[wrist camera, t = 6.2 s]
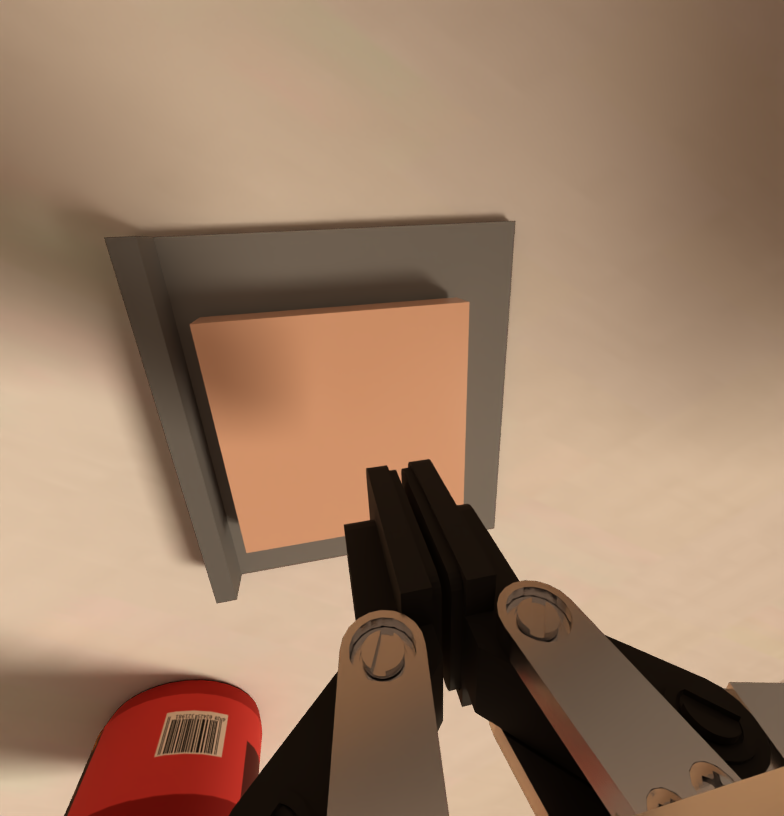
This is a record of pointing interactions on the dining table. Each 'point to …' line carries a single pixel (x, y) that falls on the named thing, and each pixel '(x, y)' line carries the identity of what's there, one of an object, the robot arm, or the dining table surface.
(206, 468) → the mat
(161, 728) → the canned food
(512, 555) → the dining table surface
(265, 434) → the tile
